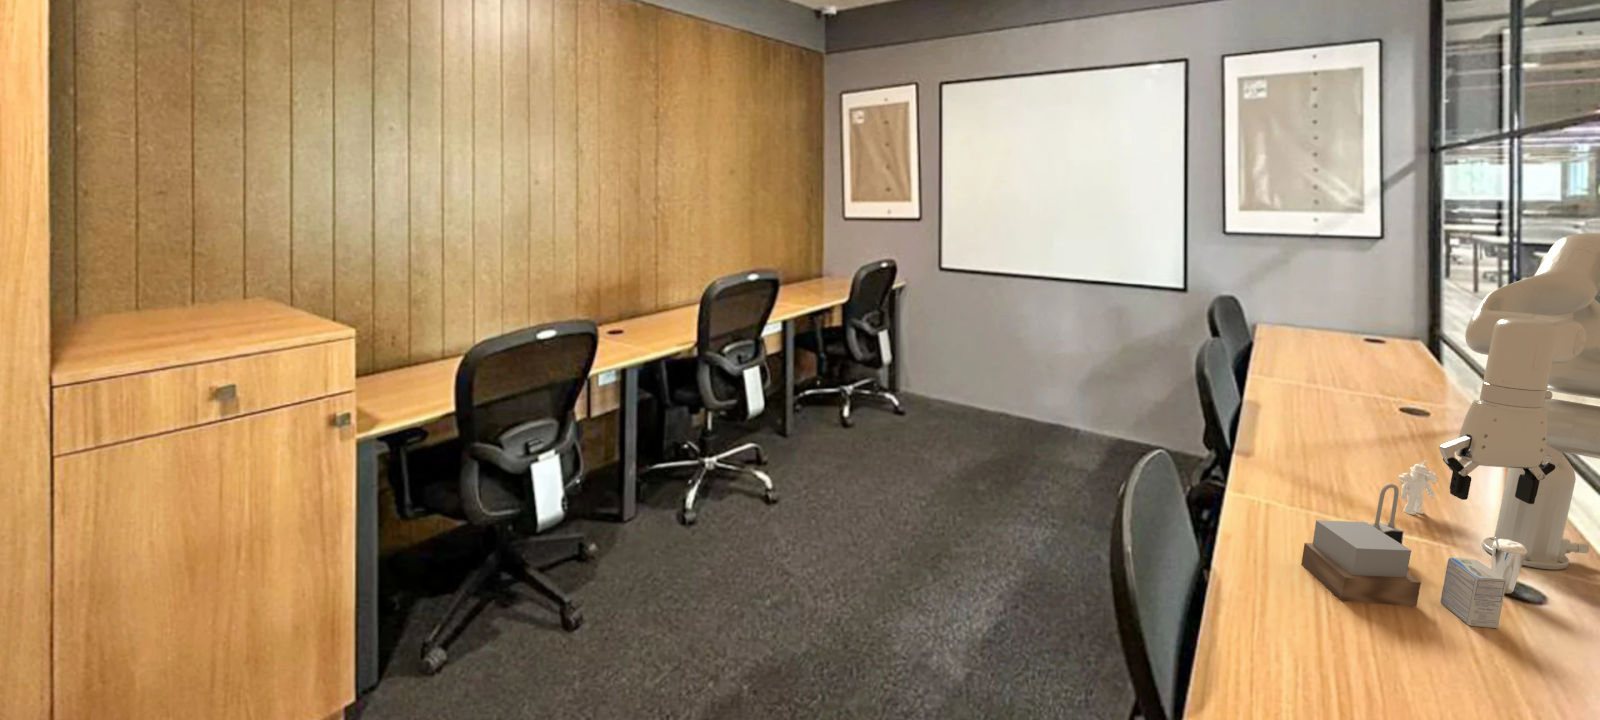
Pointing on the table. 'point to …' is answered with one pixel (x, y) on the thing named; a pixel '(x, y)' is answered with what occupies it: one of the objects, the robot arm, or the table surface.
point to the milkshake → (1508, 561)
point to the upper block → (1361, 548)
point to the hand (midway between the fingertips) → (1491, 498)
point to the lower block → (1359, 582)
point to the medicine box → (1473, 592)
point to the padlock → (1390, 527)
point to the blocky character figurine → (1416, 487)
